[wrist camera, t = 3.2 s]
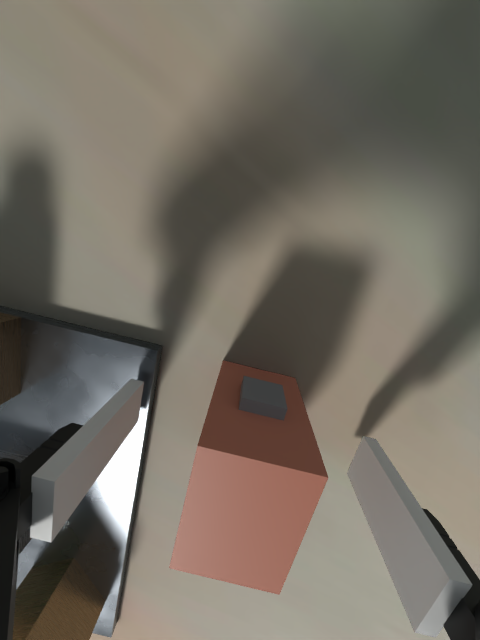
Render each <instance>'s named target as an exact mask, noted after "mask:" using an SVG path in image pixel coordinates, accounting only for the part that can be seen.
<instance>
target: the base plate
mask: <svg viewBox="0 0 480 640" xmlns="http://www.w3.org/2000/svg"><path fill="white" fill-rule="evenodd" d="M161 352H162V346H161V345H157V344H153V343H149V342H145V341H140V340H136V339H132V338H128V337H124V336H120V335H116V334H112V333H108V332H104V331H100V330H96V329H92V328H87V327H83V326H79V325H75V324H71V323H67V322H63V321H59V320H55V319H51V318H47V317H43V316H38V315H34V314H30V313H26V312H22V311H18V310H14V309H10V308H6V307H2V306H0V459H1V458H10V459H15V460H16V461H18V462H19V464H20V463H21V462H22V461H23V460H24V459H25V458H26V457H28V456H29V455H30V454H31V453H32V452H33V451H34V450H36V449H37V448H38V447H40V445H41V444H42V443H44V442H45V441H46V440H48V439H49V437H50V436H52V435H53V434H54V433H55V432H56V431H57V430H58V429H60V428H62V427H64V426H66V425H68V424H70V423H76V424H80V425H84V424H85V423H86V422H87V421H89V420H90V419H91V418H92V417H93V416H94V415H95V414H96V413H97V412H98V411H99V410H100V409H101V408H102V407H103V406H104V405H105V404H106V403H107V402H108V401H109V400H110V399H111V398H112V397H113V396H114V395H115V394H116V393H117V392H118V391H119V390H120V389H121V388H122V387H123V386H124V385H125V384H126V383H127V382H128V381H129V380H130V379H135V380H139V381H143V382H144V386H143V393H142V399H141V406H140V412H139V418H138V422H137V424H136V425H135V426H134V428H133V429H132V431H131V432H130V433H129V435H128V436H127V438H126V439H125V440H124V442H123V443H122V445H121V446H120V447H119V449H118V450H117V452H116V453H115V454H114V456H113V457H112V459H111V460H110V461H109V463H108V464H107V466H106V467H105V468H104V470H103V471H102V472H101V474H100V475H99V477H98V478H97V479H96V481H95V482H94V484H93V485H92V486H91V488H90V489H89V491H88V492H87V493H86V495H85V496H84V498H83V499H82V500H81V502H80V503H79V505H78V506H77V507H76V509H75V510H74V512H73V513H72V514H71V516H70V517H69V519H68V520H67V521H66V523H65V524H64V526H63V527H62V528H61V530H60V531H59V533H58V534H57V535H56V537H55V538H54V540H53V541H52V542H47V541H43V540H39V539H34V538H30V527H29V528H28V529H27V531H26V532H25V533H24V534H23V535H22V536H21V538H20V545H19V559H18V572H17V586H16V589H17V588H18V587H19V585H20V584H21V582H22V581H23V580H24V578H25V577H26V575H27V574H28V573H29V571H30V570H31V568H34V567H38V566H42V565H46V564H50V563H54V562H58V561H63V560H67V559H71V558H75V560H76V561H77V562H78V564H79V565H80V566H81V568H82V569H83V570H84V572H85V573H86V575H87V576H88V577H89V579H90V580H91V581H92V583H93V584H94V586H95V587H96V588H97V590H98V591H99V592H100V594H101V595H102V596H103V598H104V599H105V601H106V602H105V604H104V606H103V609H102V611H101V613H100V616H99V618H98V620H97V623H96V625H95V627H94V630H93V632H92V633H95V634H99V635H103V636H107V637H112V634H113V632H114V629H115V626H116V623H117V617H118V611H119V605H120V599H121V593H122V587H123V581H124V575H125V569H126V563H127V557H128V551H129V545H130V539H131V533H132V527H133V521H134V515H135V509H136V503H137V497H138V491H139V485H140V479H141V473H142V467H143V461H144V455H145V449H146V443H147V437H148V431H149V424H150V418H151V412H152V406H153V400H154V394H155V388H156V382H157V376H158V370H159V364H160V358H161Z"/></svg>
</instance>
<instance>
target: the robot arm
mask: <svg viewBox="0 0 480 640" xmlns="http://www.w3.org/2000/svg"><path fill="white" fill-rule="evenodd" d="M143 386H144V382H143V381H139V380H135V379H130V380H129V381H128V382H127V383H126V384H125V385H124V386H123V387H122V388H121V389H120V390H119V391H118V392H117V393H116V394H115V395H114V396H113V397H112V398H111V399H110V400H109V401H108V402H107V403H106V404H105V405H104V406H103V407H102V408H101V409H100V410H99V411H98V412H97V413H96V414H95V415H94V416H93V417H92V418H91V419H90V420H89V421H87V422H86V423H85V424H84V425H80V424H76V423H70V424H68V425H66V426H64V427H62V428H60V429H58V430H57V431H56V432H55V433H54V434H53V435H52V436H50V437H49V439H48V440H46V441H45V442H44V443H42V444H41V445H40V447H38V448H37V449H36V450H34V451H33V452H32V453H31V454H30V455H29V456H28V457H26V458H25V459H24V460H23V461H22V462H21V463H20V464H19V462H18V461H16V460H15V459H10V458H1V459H0V640H13V626H14V613H15V599H16V586H17V572H18V559H19V545H20V538H21V536H22V535H23V534H24V533H25V532H26V531H27V529H28V528H29V527H30V538H34V539H39V540H43V541H47V542H52V541H53V540H54V538H55V537H56V535H57V534H58V533H59V531H60V530H61V528H62V527H63V526H64V524H65V523H66V521H67V520H68V519H69V517H70V516H71V514H72V513H73V512H74V510H75V509H76V507H77V506H78V505H79V503H80V502H81V500H82V499H83V498H84V496H85V495H86V493H87V492H88V491H89V489H90V488H91V486H92V485H93V484H94V482H95V481H96V479H97V478H98V477H99V475H100V474H101V472H102V471H103V470H104V468H105V467H106V466H107V464H108V463H109V461H110V460H111V459H112V457H113V456H114V454H115V453H116V452H117V450H118V449H119V447H120V446H121V445H122V443H123V442H124V440H125V439H126V438H127V436H128V435H129V433H130V432H131V431H132V429H133V428H134V426H135V425H136V424H137V422H138V418H139V412H140V406H141V399H142V393H143ZM347 474H348V477H349V479H350V481H351V484H352V486H353V488H354V491H355V493H356V496H357V498H358V500H359V503H360V505H361V507H362V510H363V512H364V514H365V517H366V519H367V521H368V524H369V526H370V528H371V531H372V533H373V536H374V538H375V540H376V543H377V545H378V547H379V550H380V552H381V554H382V557H383V559H384V561H385V564H386V566H387V569H388V571H389V573H390V576H391V578H392V580H393V583H394V585H395V587H396V590H397V592H398V594H399V597H400V599H401V601H402V604H403V606H404V609H405V611H406V613H407V616H408V618H409V620H410V623H411V625H412V627H413V630H414V632H415V633H419V634H423V635H427V636H431V637H435V638H436V637H437V635H438V634H439V632H440V631H441V629H442V628H443V627H444V628H445V630H446V632H447V634H448V636H449V637H450V639H451V640H480V580H479V578H478V577H477V575H476V574H475V572H474V571H473V570H472V568H471V567H470V565H469V564H468V562H467V561H466V559H465V558H464V557H463V555H462V554H461V552H460V551H459V550H457V547H456V545H455V544H454V542H453V541H452V539H450V538H449V535H448V534H447V532H446V531H445V529H444V528H443V526H442V525H441V524H440V522H439V521H438V520H437V519H436V518H435V517H434V516H433V515H432V514H431V513H430V512H429V511H428V510H427V509H423V508H421V506H420V505H419V503H418V502H417V500H416V499H415V497H414V496H413V494H412V493H411V491H410V490H409V488H408V487H407V485H406V484H405V482H404V481H403V479H402V478H401V476H400V475H399V473H398V472H397V470H396V469H395V467H394V466H393V464H392V463H391V461H390V460H389V458H388V457H387V455H386V454H385V452H384V451H383V449H382V447H381V446H380V444H379V443H378V441H377V440H376V439H374V438H370V437H366V436H363V437H362V440H361V442H360V444H359V447H358V449H357V451H356V453H355V456H354V458H353V460H352V463H351V465H350V467H349V470H348V472H347Z"/></svg>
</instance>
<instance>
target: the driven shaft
mask: <svg viewBox="0 0 480 640" xmlns="http://www.w3.org/2000/svg"><path fill="white" fill-rule="evenodd" d="M105 602H106V601H105V599H104V598H103V596H102V595H101V594H100V592H99V591H98V590H97V588H96V587H95V586H94V584H93V583H92V581H91V580H90V579H89V577H88V576H87V575H86V573H85V572H84V570H83V569H82V568H81V566H80V565H79V564H78V562H77V561H76V560H75V558H71V559H67V560H63V561H58V562H54V563H50V564H46V565H42V566H38V567H34V568H31V570H30V571H29V573H28V574H27V575H26V577H25V578H24V580H23V581H22V582H21V584H20V585H19V587H18V588H17V589H16V599H15V613H14V626H13V640H89V639H90V637H91V634H92V632H93V630H94V627H95V625H96V623H97V620H98V618H99V616H100V613H101V611H102V609H103V606H104V604H105Z"/></svg>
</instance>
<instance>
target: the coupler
mask: <svg viewBox="0 0 480 640" xmlns="http://www.w3.org/2000/svg"><path fill="white" fill-rule="evenodd" d="M327 480H328V475H327V472H326V469H325V466H324V463H323V460H322V457H321V454H320V451H319V448H318V445H317V442H316V439H315V436H314V433H313V430H312V427H311V424H310V421H309V418H308V415H307V412H306V409H305V406H304V403H303V400H302V397H301V394H300V391H299V388H298V385H297V382H296V379H295V378H293V377H289V376H285V375H281V374H277V373H273V372H269V371H264V370H260V369H256V368H252V367H248V366H244V365H240V364H236V363H232V362H228V361H224V360H223V363H222V366H221V369H220V373H219V376H218V379H217V383H216V386H215V389H214V393H213V396H212V399H211V403H210V406H209V409H208V413H207V416H206V419H205V423H204V426H203V429H202V433H201V436H200V439H199V443H198V446H197V450H196V455H195V459H194V463H193V468H192V472H191V476H190V481H189V485H188V489H187V493H186V498H185V502H184V506H183V511H182V515H181V519H180V524H179V528H178V532H177V536H176V541H175V545H174V549H173V554H172V558H171V562H170V566H169V568H171V569H175V570H179V571H183V572H187V573H191V574H196V575H200V576H204V577H208V578H212V579H216V580H221V581H225V582H229V583H233V584H237V585H241V586H246V587H250V588H254V589H258V590H262V591H266V592H271V593H275V594H280V592H281V590H282V587H283V585H284V582H285V580H286V578H287V575H288V573H289V570H290V568H291V566H292V563H293V561H294V558H295V556H296V554H297V551H298V549H299V547H300V544H301V542H302V539H303V537H304V535H305V532H306V530H307V527H308V525H309V523H310V520H311V518H312V515H313V513H314V511H315V508H316V506H317V504H318V501H319V499H320V496H321V494H322V492H323V489H324V487H325V484H326V482H327Z"/></svg>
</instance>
